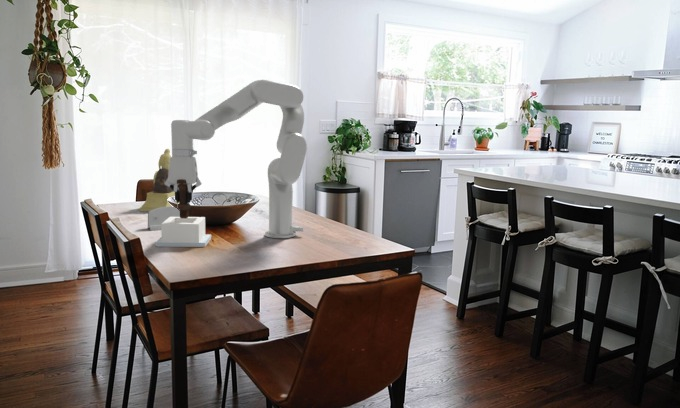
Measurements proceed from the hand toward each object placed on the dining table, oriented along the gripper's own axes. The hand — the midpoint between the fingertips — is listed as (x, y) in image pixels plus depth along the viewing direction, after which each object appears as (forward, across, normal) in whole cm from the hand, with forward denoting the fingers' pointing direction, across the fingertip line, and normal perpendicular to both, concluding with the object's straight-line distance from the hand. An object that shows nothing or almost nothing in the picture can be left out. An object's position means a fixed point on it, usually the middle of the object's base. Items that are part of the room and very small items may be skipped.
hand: (183, 201), depth 204 cm
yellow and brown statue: (+16, +26, -74) cm, 80 cm away
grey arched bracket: (+16, +13, -26) cm, 33 cm away
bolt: (+6, 0, 0) cm, 6 cm away
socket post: (+16, 0, 0) cm, 16 cm away
